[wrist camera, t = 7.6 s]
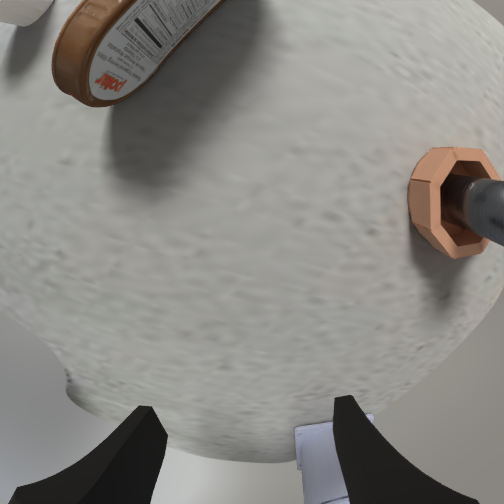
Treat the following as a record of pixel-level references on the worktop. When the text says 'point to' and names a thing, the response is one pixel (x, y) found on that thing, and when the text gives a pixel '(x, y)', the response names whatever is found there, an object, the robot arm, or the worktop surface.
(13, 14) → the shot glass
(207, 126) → the worktop surface
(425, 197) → the cup
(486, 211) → the cell
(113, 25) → the tin
